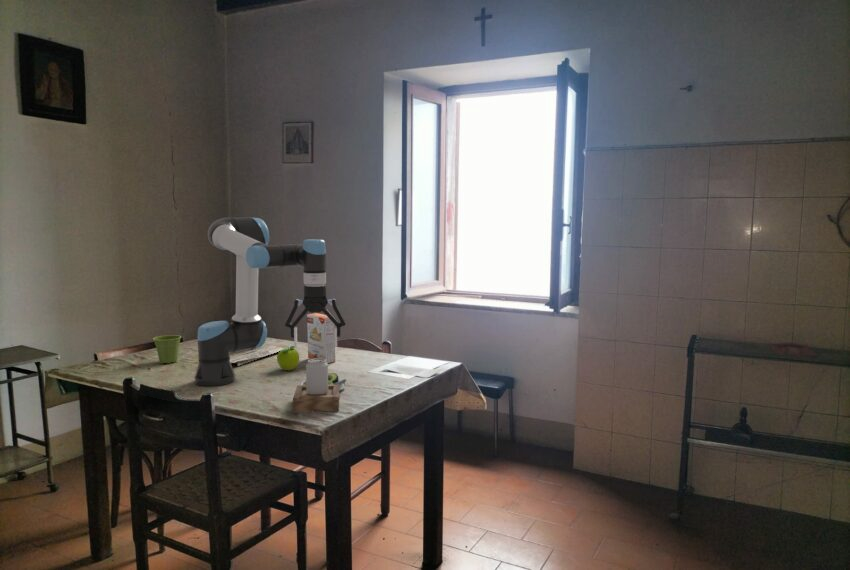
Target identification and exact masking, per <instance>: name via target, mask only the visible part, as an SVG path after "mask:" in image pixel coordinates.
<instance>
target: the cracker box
mask: <svg viewBox="0 0 850 570" xmlns="http://www.w3.org/2000/svg"><path fill="white" fill-rule="evenodd" d="M306 325H307V326H306V327H307V330H306V331H307V358H310V359H314V358H322V359H326V362H327V363H328V364H331V362H332V363H336V347H335V327H336V325H335V324H334V323H333V322H332V321H331V320H330V319H329V318H328V317H327V315H326V314H323V313H320V312H313V313H308V314H306ZM310 359H309V360H310Z"/></svg>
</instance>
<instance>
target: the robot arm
mask: <svg viewBox="0 0 850 570" xmlns="http://www.w3.org/2000/svg"><path fill="white" fill-rule="evenodd" d="M207 238H208V241H209V242H210V244H211V245H212V246H214V247H215V248H217V249H219V250H222V251H227V250H228V251H229V252H231V253H232V254H234V255H236V256H235V257H236V261H235V263H236V264H235V265H236V267H235V270H236V272H235V277H236V279H235V314H234V315H233V316H232V317H231V323H229V321H228V320H218V321H217V320H216V321H210V322H206V323H203V324H201V325H200V326H199V327H198V329H197V337H196V339H197V352H198V354H197V355H198V366H197V368H196V373H195V374H194V384H195V385H197V386H201V387H216V386H218V387H219V386H224V385H228V384H230V383H233V382H235V381H236V373H235V371H234V368H233V366H232V363H230V359H231V354H233V353H238V352H246V351H254V350H253V349H255V350H257V349H261V348H262V347H263V345H264V344H265V343H266V341H267V337H268V336H267V335H268V328H267V325H266V323H265V321H264V320H262V316H261V315H259V314H258V312H259V273H260V272H259V271H260V270H259V269H268V268H269V269H270V268H283V267H303V268H302V269H303V284H304V286H303V299H298V298H295V300H294V304H293V308H292V310H291V311H290V313H289V316H288V318H287V320H286V322H285V324H284V326H285V327H287V328H289V329H290V337H291V338H293V340H294V342H293V343H294V344H293V346H294V348H293V349H295V348H298V327H297V325H298V324H299V323H300V321H301V320H302V319H303V318H304V316H305V315H307V313H308V312H309V313H310V314H314V313H321V312H322V313H324V315H327V317H328V318H329V319H330V320H331V321H332V322H333V323H334V324H335V348H337V347H338V338H340V337H341V328H342V327H344V326H346V321H345V318H344V317H343V315H342V313H341V310H340V308H339V307H338V304H337V300H336V298H332V299H328V298H327V286H326V284H327V249H326V241H325V240H324V239H322V238H321V239H315V238H311V239H304V240H302V241H303V242H302V244H300V243H290V244H270V245H269V242H270V231H269V228H268V226H267V224H266V222H265V221H264V219H262V218H259V217H222V218H219V219H217V220H215V221H213V223H211V225H210V226H209V228H208V230H207ZM328 304H329V305H330V306H331V307H332V309H333V310H334V313H335V314H336V316H337V318H338V319H336V318H335V317H334V315H333V314H332V313H331V312H330V310H329V309H328V308H327V307H326V306H327V305H328ZM301 305H303V306H304V307H305V308H304V309H303V310H302V312H300V314H299V315H298V316H297V317H296V319H295V320H294V321H293V322H291V321H292V320H293V318H294V316H295V314H296V312H297V309H298V307H300V306H301ZM338 320H339V321H338Z"/></svg>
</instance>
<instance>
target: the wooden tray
mask: <svg viewBox="0 0 850 570" xmlns="http://www.w3.org/2000/svg"><path fill="white" fill-rule="evenodd" d="M340 392H341V391H340V384H331V385H328V392H327V393H326V394H325V395H320V396H311V395H309V394H308V393H307V390H306V385H300V384H299V385H296V388H295V390H294V394H293V398H292V410H293V411H292V413H293V414H295V413H294V412H300V413H317V412H316V411H327V412H339V411H340V401H339V400H340V398H341V396H340V394H341V393H340ZM312 411H314V412H312Z"/></svg>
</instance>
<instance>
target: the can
mask: <svg viewBox="0 0 850 570" xmlns="http://www.w3.org/2000/svg"><path fill="white" fill-rule="evenodd" d="M328 373H329V363H327V362H326V359H322V358H314V359H308V360H307V363H306V364H305V378H306V379H305V381H306V390H307V393H308V394H309V395H311V396H320V395H325V394H326V393H327V392H328Z"/></svg>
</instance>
